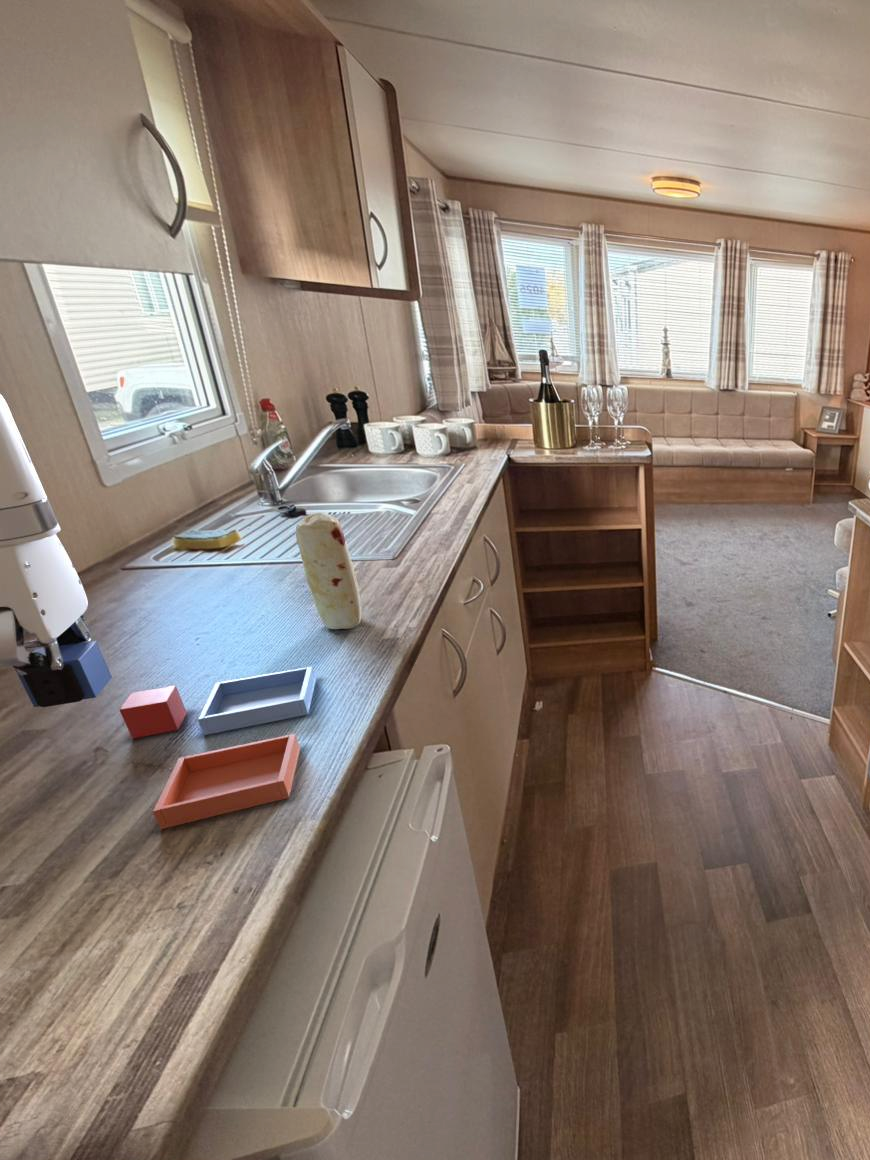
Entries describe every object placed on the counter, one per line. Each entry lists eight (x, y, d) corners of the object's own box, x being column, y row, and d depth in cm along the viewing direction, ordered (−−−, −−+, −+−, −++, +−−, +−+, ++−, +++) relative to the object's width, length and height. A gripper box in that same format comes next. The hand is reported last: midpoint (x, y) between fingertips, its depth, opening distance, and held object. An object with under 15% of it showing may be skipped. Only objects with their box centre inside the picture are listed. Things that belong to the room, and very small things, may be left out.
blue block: (33, 707, 64) (14, 668, 62) (54, 686, 67) (36, 648, 65) (96, 697, 66) (78, 659, 64) (112, 677, 69) (96, 640, 67)
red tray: (160, 829, 69) (152, 811, 68) (185, 774, 77) (178, 757, 76) (289, 797, 74) (283, 780, 73) (300, 749, 82) (295, 733, 81)
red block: (132, 739, 82) (118, 709, 80) (143, 721, 86) (130, 692, 84) (178, 730, 84) (166, 701, 83) (187, 712, 88) (175, 685, 86)
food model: (376, 625, 114) (349, 518, 106) (332, 637, 109) (301, 526, 101) (355, 609, 120) (329, 506, 112) (313, 620, 115) (283, 513, 107)
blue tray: (203, 735, 84) (197, 719, 83) (221, 697, 92) (215, 682, 91) (308, 714, 89) (303, 699, 88) (316, 680, 97) (311, 666, 96)
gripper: (-16, 502, 64) (59, 660, 71) (-130, 556, 51) (-24, 744, 58) (88, 497, 67) (149, 648, 75) (6, 545, 54) (91, 724, 61)
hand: (73, 688), depth 66 cm, fingers closed on blue block, 4 cm apart
